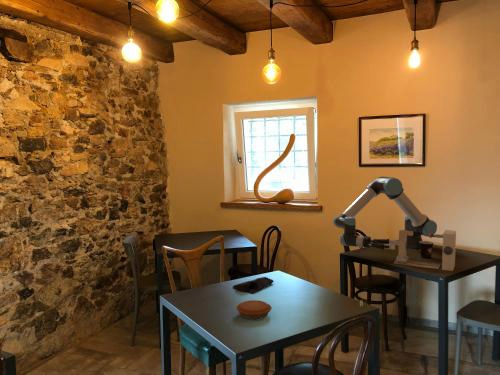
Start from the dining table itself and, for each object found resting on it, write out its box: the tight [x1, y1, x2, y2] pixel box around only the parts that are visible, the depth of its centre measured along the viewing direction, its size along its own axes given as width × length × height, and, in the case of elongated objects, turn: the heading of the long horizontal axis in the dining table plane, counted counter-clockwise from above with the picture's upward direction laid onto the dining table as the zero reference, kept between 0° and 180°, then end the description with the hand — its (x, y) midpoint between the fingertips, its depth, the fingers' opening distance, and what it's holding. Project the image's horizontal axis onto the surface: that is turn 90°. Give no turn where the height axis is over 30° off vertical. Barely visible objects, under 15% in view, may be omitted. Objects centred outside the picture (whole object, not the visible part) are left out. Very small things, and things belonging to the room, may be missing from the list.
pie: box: [235, 299, 273, 320], centre depth 192 cm, size 16×16×5 cm
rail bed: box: [393, 259, 442, 270], centre depth 273 cm, size 11×26×1 cm, turn 60°
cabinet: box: [441, 229, 457, 272], centre depth 263 cm, size 13×6×22 cm, turn 150°
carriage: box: [395, 229, 413, 262], centre depth 276 cm, size 7×9×19 cm
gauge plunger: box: [429, 233, 443, 239], centre depth 266 cm, size 3×10×3 cm, turn 60°
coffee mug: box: [415, 240, 434, 260], centre depth 290 cm, size 12×9×10 cm
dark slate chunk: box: [232, 276, 275, 294], centre depth 231 cm, size 15×22×5 cm
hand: (397, 245), depth 278 cm, fingers open, 13 cm apart
